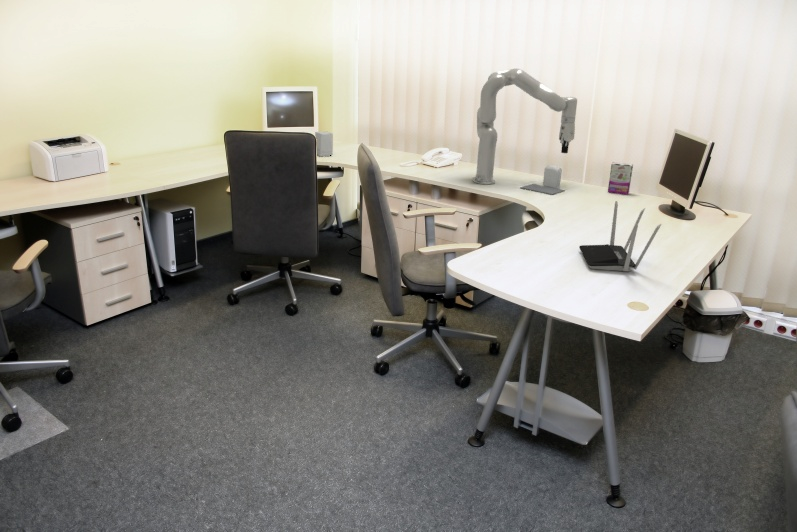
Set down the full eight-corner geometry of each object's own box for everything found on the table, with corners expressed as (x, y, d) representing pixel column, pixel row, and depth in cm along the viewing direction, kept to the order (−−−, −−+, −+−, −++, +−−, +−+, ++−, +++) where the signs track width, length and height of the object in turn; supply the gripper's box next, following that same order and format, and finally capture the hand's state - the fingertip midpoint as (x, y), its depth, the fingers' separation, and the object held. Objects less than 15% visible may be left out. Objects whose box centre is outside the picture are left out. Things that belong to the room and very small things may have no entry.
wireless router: (575, 246, 268) (582, 199, 262) (633, 250, 267) (641, 202, 260) (590, 275, 237) (599, 222, 230) (656, 280, 235) (666, 226, 228)
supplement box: (333, 156, 429) (333, 133, 424) (320, 157, 425) (320, 133, 420) (327, 153, 437) (327, 131, 431) (314, 154, 432) (314, 131, 427)
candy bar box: (628, 193, 364) (633, 164, 358) (628, 195, 359) (633, 165, 354) (608, 190, 367) (612, 161, 362) (607, 192, 363) (611, 163, 357)
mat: (552, 195, 352) (552, 194, 351) (520, 188, 364) (520, 187, 363) (564, 191, 362) (564, 190, 361) (532, 184, 374) (532, 183, 374)
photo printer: (541, 185, 372) (544, 164, 368) (546, 184, 375) (548, 163, 371) (556, 189, 365) (558, 167, 361) (560, 188, 367) (563, 166, 363)
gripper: (567, 122, 357) (564, 155, 363) (580, 119, 368) (576, 152, 374) (555, 120, 361) (552, 153, 368) (568, 118, 372) (564, 150, 378)
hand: (564, 152), depth 371 cm, fingers closed
